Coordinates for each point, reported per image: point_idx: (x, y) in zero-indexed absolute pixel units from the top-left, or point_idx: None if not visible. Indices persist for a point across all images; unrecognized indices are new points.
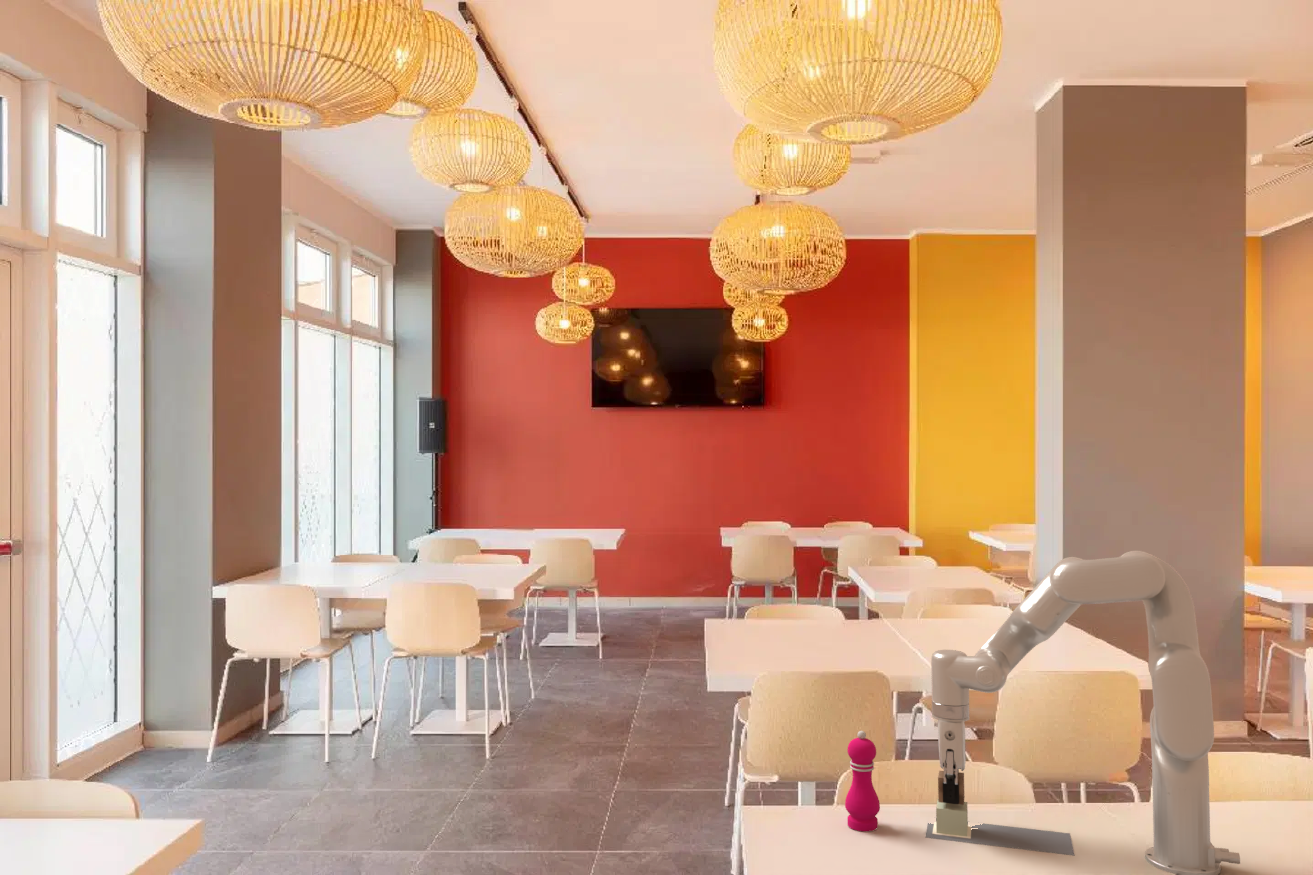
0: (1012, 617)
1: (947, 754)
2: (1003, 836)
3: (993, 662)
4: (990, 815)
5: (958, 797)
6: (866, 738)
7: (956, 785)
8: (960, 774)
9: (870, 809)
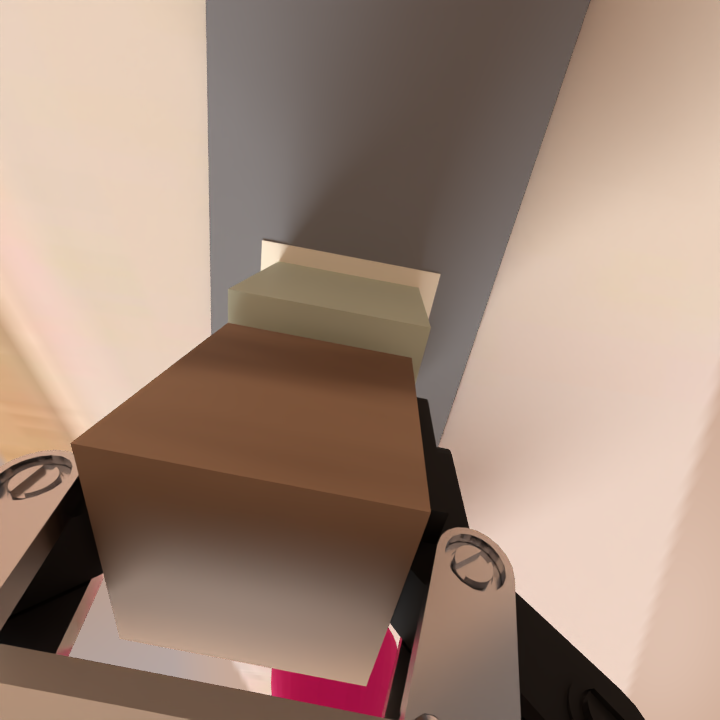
0: None
1: None
2: (390, 68)
3: None
4: (42, 91)
5: (431, 427)
6: None
7: (440, 522)
8: (176, 496)
9: (393, 654)
